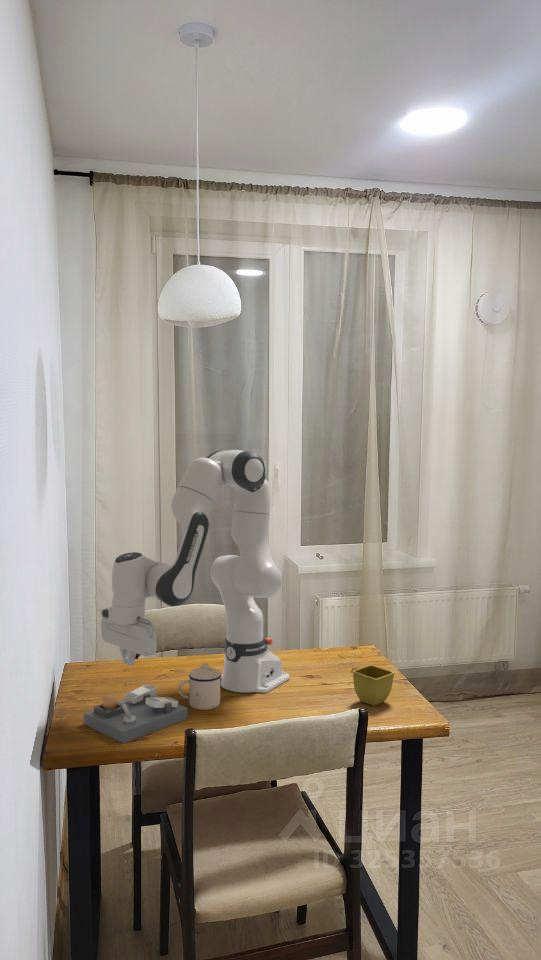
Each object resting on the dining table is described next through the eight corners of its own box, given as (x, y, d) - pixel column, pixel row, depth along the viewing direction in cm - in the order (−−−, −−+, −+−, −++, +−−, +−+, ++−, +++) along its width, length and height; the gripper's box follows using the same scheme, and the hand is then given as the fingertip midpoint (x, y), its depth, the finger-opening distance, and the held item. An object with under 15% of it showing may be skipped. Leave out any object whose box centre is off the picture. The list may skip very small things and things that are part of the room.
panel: (145, 701, 207) (145, 673, 207) (187, 718, 195) (187, 689, 195) (81, 722, 192) (81, 692, 191) (123, 743, 180) (123, 711, 179)
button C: (111, 702, 194) (111, 693, 194) (119, 706, 192) (119, 697, 191) (100, 706, 191) (100, 697, 191) (108, 710, 189) (108, 701, 189)
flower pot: (394, 702, 209) (395, 671, 208) (375, 710, 203) (376, 679, 202) (370, 694, 215) (370, 664, 215) (351, 701, 209) (351, 671, 209)
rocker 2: (167, 703, 198) (168, 696, 198) (177, 707, 195) (178, 700, 195) (144, 703, 192) (146, 696, 192) (154, 707, 189) (155, 701, 189)
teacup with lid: (217, 697, 211) (218, 657, 210) (223, 709, 202) (224, 668, 202) (176, 700, 208) (176, 660, 207) (180, 712, 199) (180, 671, 199)
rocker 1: (148, 689, 204) (147, 683, 204) (157, 692, 201) (156, 687, 201) (124, 699, 198) (124, 693, 198) (133, 703, 196) (133, 697, 195)
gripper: (162, 619, 190) (162, 670, 191) (115, 605, 204) (115, 653, 205) (143, 623, 186) (143, 676, 187) (96, 609, 199) (96, 658, 200)
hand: (128, 664), depth 196 cm, fingers closed
